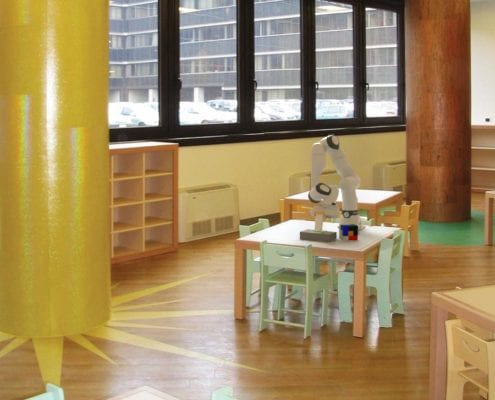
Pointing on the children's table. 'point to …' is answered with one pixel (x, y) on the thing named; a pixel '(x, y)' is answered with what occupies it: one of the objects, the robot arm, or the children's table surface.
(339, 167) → the robot arm
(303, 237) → the switch box
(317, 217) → the lever
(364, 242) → the children's table surface
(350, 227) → the puzzle toy
